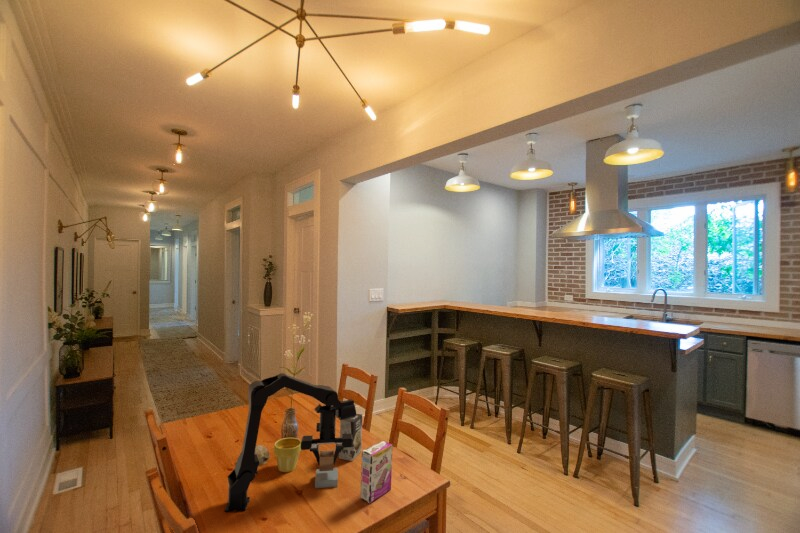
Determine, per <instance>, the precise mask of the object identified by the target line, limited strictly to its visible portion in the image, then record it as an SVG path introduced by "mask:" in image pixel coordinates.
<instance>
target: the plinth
mask: <svg viewBox="0 0 800 533" xmlns="http://www.w3.org/2000/svg"><path fill="white" fill-rule="evenodd" d="M338 468H339V467H333V471H319V468H317V469H315V476H314V478H315V479H314V489H320V488H321V489H323V488H324V489H325V488H337V487H338V476H339V475H338V474H339V473H338Z"/></svg>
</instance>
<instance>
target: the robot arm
mask: <svg viewBox="0 0 800 533" xmlns="http://www.w3.org/2000/svg"><path fill="white" fill-rule="evenodd" d="M284 388H286V389H289V390H291V391H295V392H297V393H300V394H302V395H306V396H309V397H312V398H313V399H315V400H316V401H318V402H320V403H318V404H317V406H316V407H315V408H314V411H315V412H316V414H319V422H316V428H315V430H316V431H315V432H317V433H319V438H314V435H303V436H302V437H301V439H300V440H301V451H306V450H309V452H312V453H313V455H314V457H315V460H316V462H317V464H318V466H320V446H319V445H335V447H334V464H333V466H335V464H336V461H337V459H338V458H339V453H340V451H341V450H343V449H344V448H346V447H353V436H352V434H342V437H340V436H337V437H336V422H337V420H336V418H337V419H338V420H339V421H340V420H345V419H350V418H355V416H356V414H357V409H356V406H355V400H353V399H352V398H350V399H348V400H343V401H342V400H341V401H340V400H339V394H338V392H337V391H336V390H334V389H333V388H332V387H330V386H329V385H323V384H321V385H320V384H319V385H318V384H314V383H310V382H307V381H305V380H302V379H299V378H296V377H293V376H291V375H288V374H287V373H285V372H280V373H278V374H276V375H273V376H270V377H266V378H264V379H261V380H254V381H253V382H251V383H250V384H249V386H248V388H247V394H248V395H247V396H248V398H247V399H248V413H247V419H246V425H245V430H244V437H243V443H242V447H241V448H242V449H241V452H240V453H239V455H238V457H237V459H236V462H235V466H234V469H232V471H231V472H230V473H229V474H228V475H227V482H228V495H227V496H228V498H227V504H226V506H225V508H224V512H225V513H227V512H228V513H229V512H238V511H239V512H243V511H246V510H247V508H248V505H249V502H250V500H251V497H250V496H248V490H249V487H250V484H251V483H252V482H253V481H254V480H255V478H256V475H258V474H259V473H258V468H259V466H258V465H259V459H258V456H257V454H255V448H256V445H257V441H258V436H259V431H260V424H261V417H262V411H264V408H265V406H266V404H267V401H268V398H270V397H271V396H273V395H275V394H277V392H279V391H281V389H284ZM321 404H323V405H321Z"/></svg>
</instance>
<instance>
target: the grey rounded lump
mask: <svg viewBox="0 0 800 533" xmlns="http://www.w3.org/2000/svg"><path fill="white" fill-rule="evenodd" d="M255 454H257V456H258V459H259V465H258V467H260V466H263V465H265V464H266V463H267V462H268V460H269V458H270V450H269V449H268V448H267V447H266V446H265V445H264V444H256V448H255Z"/></svg>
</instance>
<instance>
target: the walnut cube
mask: <svg viewBox="0 0 800 533" xmlns="http://www.w3.org/2000/svg"><path fill="white" fill-rule="evenodd" d="M334 453H335V449H333V450H331V449H330V450H319V454H320V466H319V465H318V466H319V468H318V469H319V471H333V468H334V465H333V464H334Z"/></svg>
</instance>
